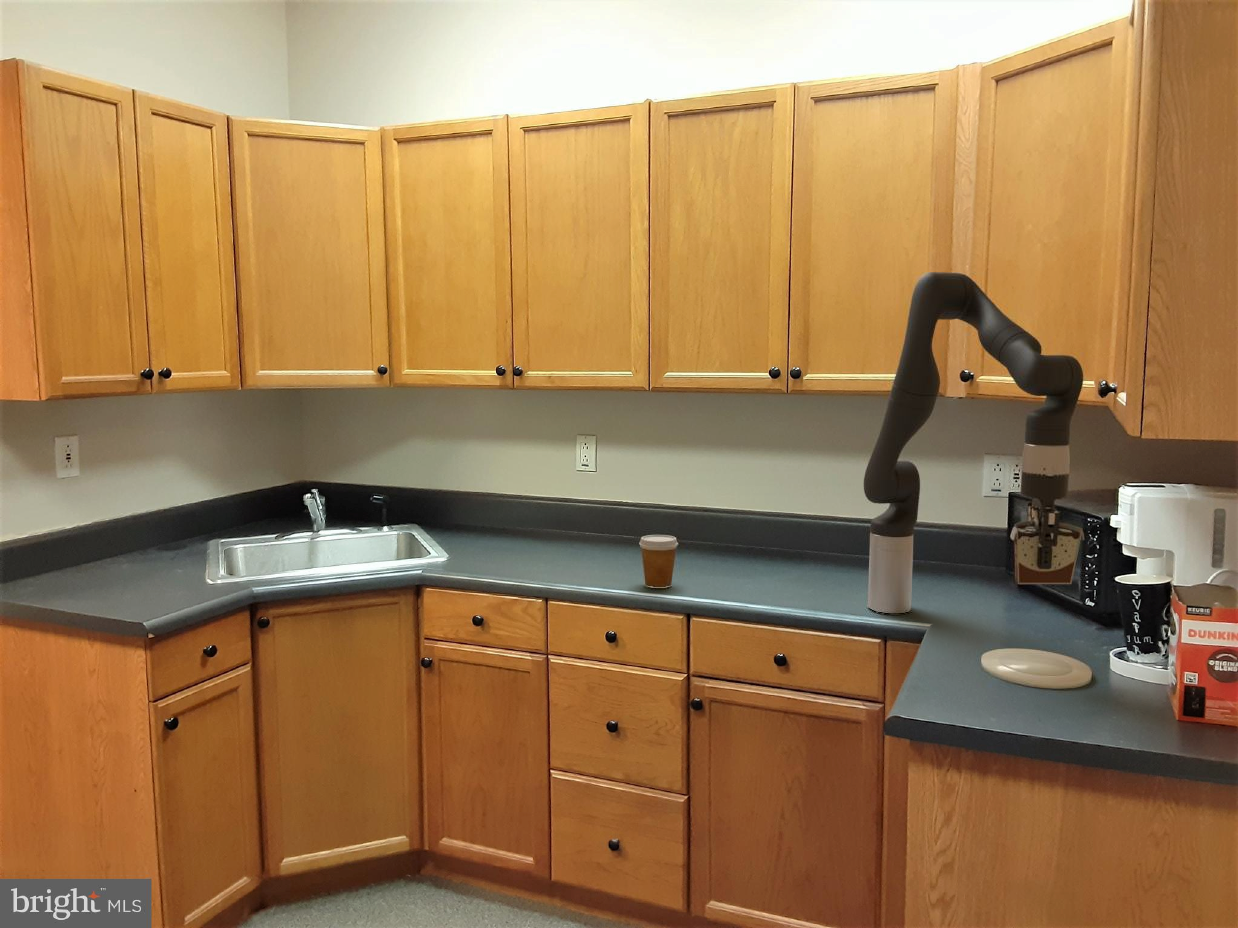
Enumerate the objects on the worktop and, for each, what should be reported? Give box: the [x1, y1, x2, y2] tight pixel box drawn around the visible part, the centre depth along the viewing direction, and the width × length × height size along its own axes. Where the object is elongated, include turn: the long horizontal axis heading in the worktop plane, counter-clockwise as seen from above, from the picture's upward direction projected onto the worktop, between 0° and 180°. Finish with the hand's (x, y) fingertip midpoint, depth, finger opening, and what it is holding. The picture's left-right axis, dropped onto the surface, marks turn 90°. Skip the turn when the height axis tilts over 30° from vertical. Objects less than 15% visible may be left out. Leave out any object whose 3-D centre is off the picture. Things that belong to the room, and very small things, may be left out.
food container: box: [1009, 520, 1085, 585], centre depth 161 cm, size 12×6×10 cm, turn 90°
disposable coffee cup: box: [638, 534, 679, 587], centre depth 223 cm, size 10×10×12 cm
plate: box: [980, 648, 1093, 690], centre depth 163 cm, size 18×18×1 cm
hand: (1040, 564), depth 161 cm, fingers closed on food container, 5 cm apart
